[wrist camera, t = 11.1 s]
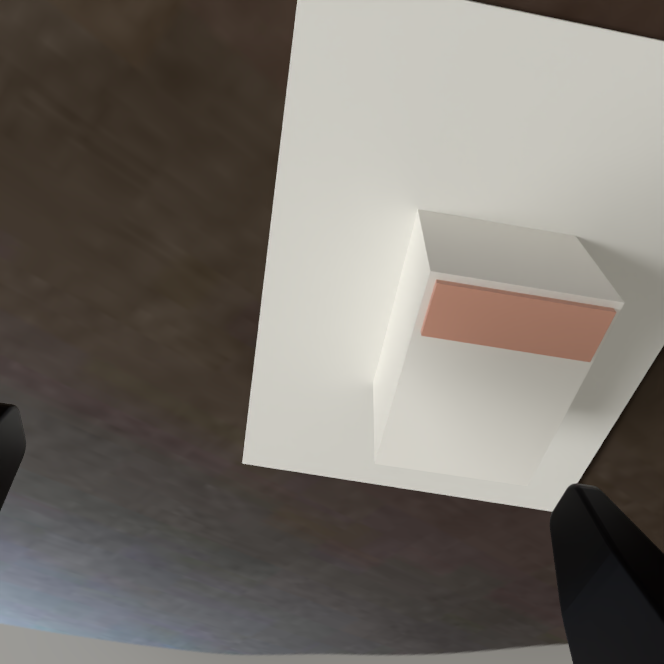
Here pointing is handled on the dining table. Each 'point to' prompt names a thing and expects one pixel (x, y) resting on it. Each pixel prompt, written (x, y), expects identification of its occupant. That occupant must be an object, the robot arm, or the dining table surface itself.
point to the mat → (449, 211)
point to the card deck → (486, 347)
